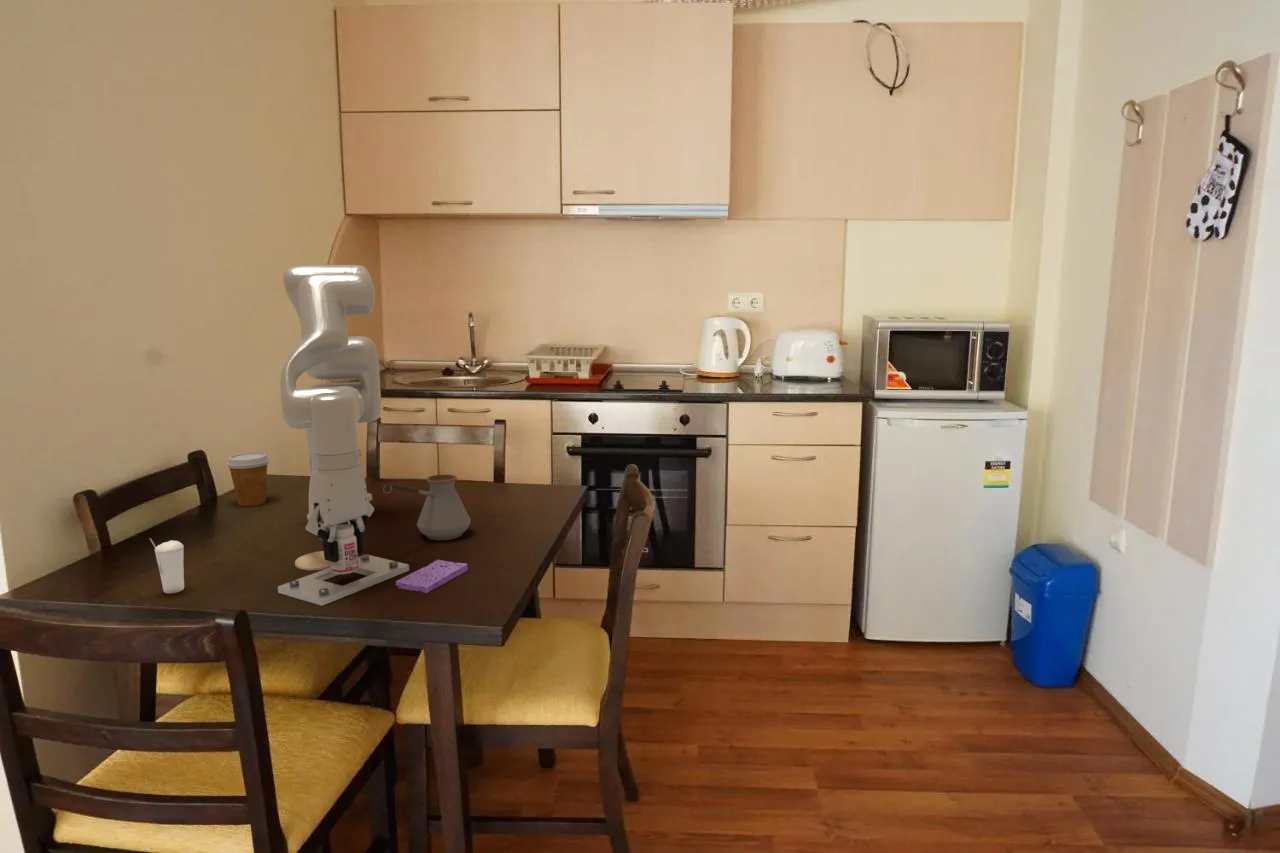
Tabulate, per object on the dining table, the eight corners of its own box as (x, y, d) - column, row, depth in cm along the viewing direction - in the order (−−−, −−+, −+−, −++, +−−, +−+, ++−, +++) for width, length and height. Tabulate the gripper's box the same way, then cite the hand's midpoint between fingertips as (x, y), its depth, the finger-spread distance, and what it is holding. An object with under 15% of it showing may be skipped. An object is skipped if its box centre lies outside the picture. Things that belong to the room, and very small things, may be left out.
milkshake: (162, 586, 154) (156, 534, 152) (192, 585, 154) (186, 533, 152) (150, 595, 149) (143, 542, 147) (181, 594, 150) (175, 541, 148)
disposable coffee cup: (259, 496, 216) (255, 450, 214) (280, 501, 210) (276, 455, 208) (223, 504, 208) (218, 457, 206) (244, 510, 203) (239, 462, 201)
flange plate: (366, 560, 167) (365, 551, 166) (409, 570, 161) (408, 561, 160) (278, 592, 150) (277, 583, 150) (322, 605, 144) (321, 596, 144)
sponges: (468, 572, 161) (467, 563, 160) (426, 596, 149) (426, 586, 149) (438, 568, 163) (437, 558, 163) (395, 590, 152) (395, 580, 152)
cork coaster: (326, 550, 173) (326, 547, 173) (359, 558, 168) (359, 555, 168) (284, 564, 164) (284, 561, 164) (317, 573, 159) (317, 570, 159)
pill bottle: (349, 575, 152) (346, 531, 151) (326, 574, 153) (323, 530, 152) (363, 566, 157) (360, 523, 155) (340, 565, 158) (337, 522, 156)
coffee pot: (443, 524, 190) (440, 460, 188) (482, 531, 184) (479, 465, 182) (370, 551, 172) (365, 480, 170) (410, 560, 166) (406, 487, 164)
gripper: (360, 449, 160) (366, 540, 164) (282, 468, 146) (291, 566, 149) (387, 454, 156) (393, 546, 160) (310, 473, 142) (319, 574, 146)
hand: (344, 555), depth 155 cm, fingers closed on pill bottle, 4 cm apart
